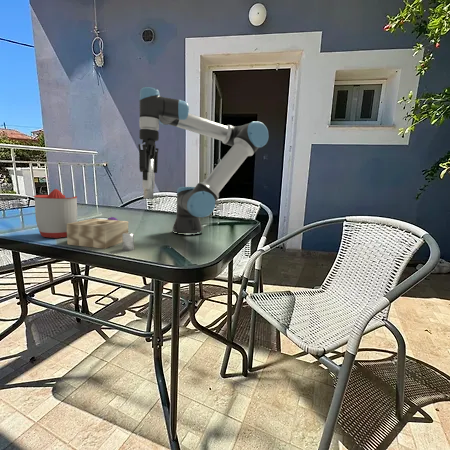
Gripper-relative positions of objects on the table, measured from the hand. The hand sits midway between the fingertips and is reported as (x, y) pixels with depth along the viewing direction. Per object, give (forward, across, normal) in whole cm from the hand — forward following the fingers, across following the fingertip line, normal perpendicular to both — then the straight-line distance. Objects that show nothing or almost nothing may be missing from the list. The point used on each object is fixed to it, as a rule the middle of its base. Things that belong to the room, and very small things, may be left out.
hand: (148, 188), depth 112 cm
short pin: (+23, +16, 0) cm, 28 cm away
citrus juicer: (+23, +6, -38) cm, 45 cm away
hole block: (+22, +10, -16) cm, 29 cm away
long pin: (+4, 0, 0) cm, 4 cm away
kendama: (+23, -10, -28) cm, 38 cm away
